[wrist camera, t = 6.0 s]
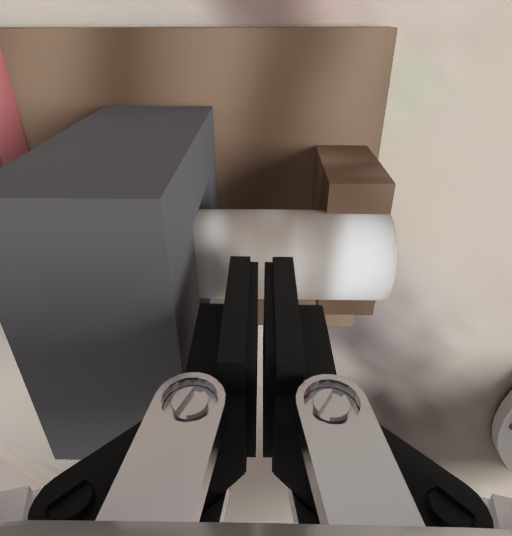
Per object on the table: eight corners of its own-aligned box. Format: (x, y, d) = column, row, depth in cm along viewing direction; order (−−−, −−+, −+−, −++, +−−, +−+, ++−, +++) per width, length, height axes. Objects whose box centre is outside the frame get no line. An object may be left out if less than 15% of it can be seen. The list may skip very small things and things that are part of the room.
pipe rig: (388, 26, 16) (466, 37, 9) (349, 311, 22) (380, 424, 16) (-174, 27, 16) (-444, 38, 10) (-45, 306, 23) (-159, 415, 17)
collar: (212, 106, 16) (160, 199, 8) (222, 286, 20) (193, 461, 12) (105, 106, 16) (-50, 197, 8) (137, 285, 20) (55, 459, 12)
